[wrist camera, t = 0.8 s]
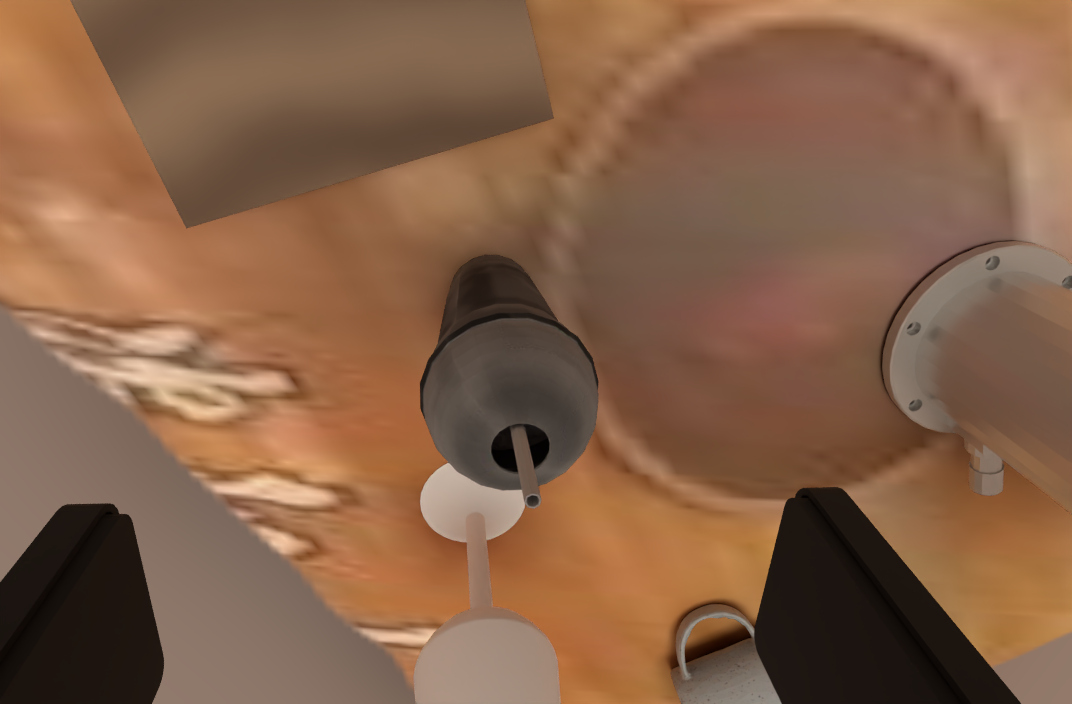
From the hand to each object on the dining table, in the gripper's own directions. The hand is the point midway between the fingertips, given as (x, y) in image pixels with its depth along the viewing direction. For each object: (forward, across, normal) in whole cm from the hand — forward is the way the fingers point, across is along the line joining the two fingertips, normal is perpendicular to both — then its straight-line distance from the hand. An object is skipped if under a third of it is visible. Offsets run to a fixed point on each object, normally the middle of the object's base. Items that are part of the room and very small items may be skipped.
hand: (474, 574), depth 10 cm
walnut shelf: (+28, +6, -8) cm, 30 cm away
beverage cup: (+29, -2, +6) cm, 30 cm away
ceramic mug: (+30, -20, +35) cm, 50 cm away
